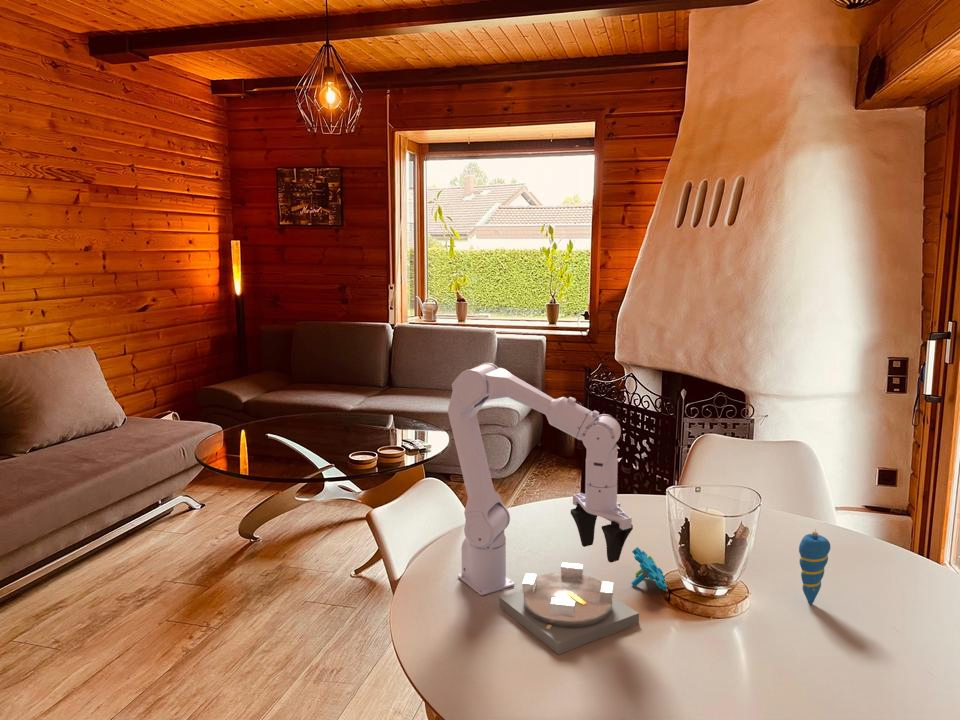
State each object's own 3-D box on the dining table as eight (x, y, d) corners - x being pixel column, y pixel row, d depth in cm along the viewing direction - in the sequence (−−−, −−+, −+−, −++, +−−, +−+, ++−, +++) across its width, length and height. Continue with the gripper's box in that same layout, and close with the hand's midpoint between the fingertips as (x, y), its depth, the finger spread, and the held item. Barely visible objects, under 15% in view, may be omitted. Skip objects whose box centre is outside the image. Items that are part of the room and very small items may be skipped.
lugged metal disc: (506, 596, 128) (506, 576, 127) (574, 574, 136) (574, 555, 135) (559, 636, 114) (559, 614, 113) (631, 610, 122) (631, 589, 122)
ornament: (825, 600, 130) (831, 525, 127) (826, 613, 125) (832, 536, 123) (795, 595, 132) (800, 521, 129) (795, 607, 127) (800, 531, 125)
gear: (674, 594, 129) (637, 553, 131) (650, 613, 130) (614, 573, 132) (672, 575, 140) (638, 538, 141) (651, 593, 141) (617, 556, 142)
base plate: (499, 606, 128) (499, 595, 128) (574, 582, 137) (575, 572, 137) (558, 654, 113) (558, 642, 113) (638, 623, 122) (639, 612, 122)
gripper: (645, 490, 121) (643, 562, 123) (593, 468, 133) (592, 534, 135) (614, 497, 117) (612, 572, 119) (564, 474, 130) (563, 542, 132)
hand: (600, 552), depth 127 cm, fingers open, 7 cm apart
